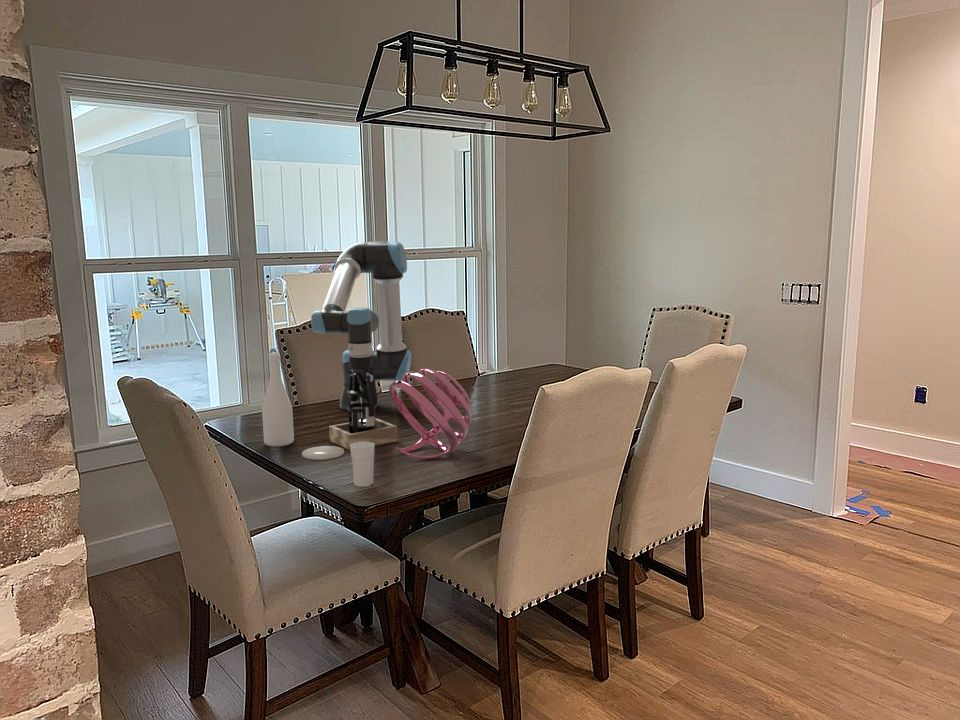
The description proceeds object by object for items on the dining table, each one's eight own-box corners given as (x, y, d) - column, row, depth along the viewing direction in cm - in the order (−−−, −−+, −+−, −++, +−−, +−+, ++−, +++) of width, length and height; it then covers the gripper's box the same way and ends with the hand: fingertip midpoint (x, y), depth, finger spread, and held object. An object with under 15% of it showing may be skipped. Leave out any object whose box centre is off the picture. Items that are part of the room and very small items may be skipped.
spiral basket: (375, 407, 215) (444, 346, 224) (352, 410, 240) (414, 355, 250) (437, 480, 220) (501, 418, 229) (408, 475, 245) (467, 419, 255)
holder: (329, 440, 252) (329, 426, 252) (375, 431, 263) (375, 417, 262) (350, 450, 241) (349, 435, 240) (397, 440, 252) (397, 426, 251)
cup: (362, 489, 205) (360, 449, 203) (346, 484, 209) (345, 445, 208) (380, 483, 210) (379, 444, 208) (365, 478, 214) (363, 440, 212)
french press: (367, 446, 245) (364, 376, 241) (341, 444, 248) (338, 374, 244) (384, 437, 256) (382, 370, 252) (359, 435, 259) (357, 368, 255)
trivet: (295, 452, 239) (294, 450, 239) (332, 445, 247) (332, 443, 247) (313, 462, 229) (313, 460, 229) (351, 454, 237) (351, 452, 237)
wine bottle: (269, 439, 255) (264, 350, 250) (297, 439, 254) (292, 350, 249) (260, 447, 245) (254, 355, 240) (289, 447, 245) (284, 355, 240)
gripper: (334, 352, 253) (337, 418, 257) (366, 361, 236) (369, 431, 240) (354, 350, 258) (357, 415, 261) (387, 358, 241) (389, 427, 245)
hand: (363, 423), depth 251 cm, fingers closed on french press, 9 cm apart
